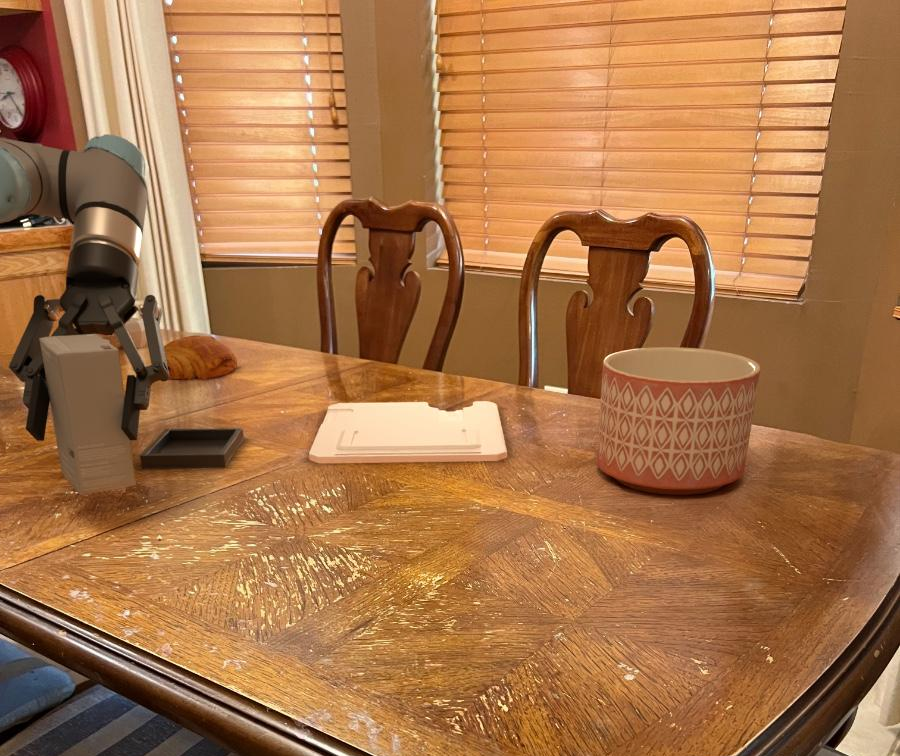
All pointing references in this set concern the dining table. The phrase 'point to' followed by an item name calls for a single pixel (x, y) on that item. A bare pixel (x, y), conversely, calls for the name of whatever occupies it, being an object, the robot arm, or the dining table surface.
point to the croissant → (198, 358)
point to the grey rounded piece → (135, 332)
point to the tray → (408, 433)
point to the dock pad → (193, 448)
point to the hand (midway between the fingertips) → (82, 434)
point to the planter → (676, 418)
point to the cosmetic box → (88, 412)
